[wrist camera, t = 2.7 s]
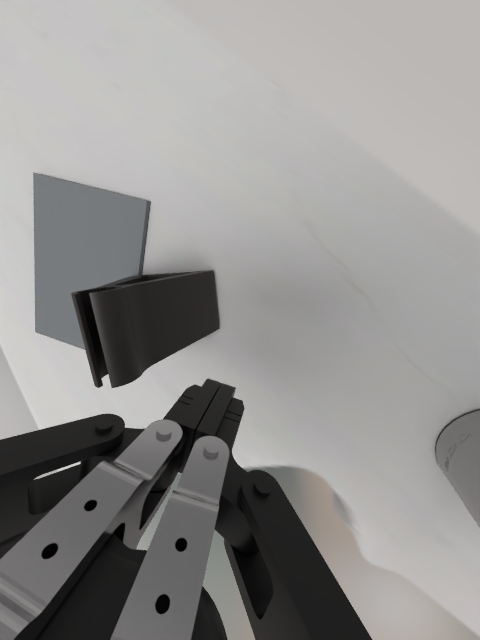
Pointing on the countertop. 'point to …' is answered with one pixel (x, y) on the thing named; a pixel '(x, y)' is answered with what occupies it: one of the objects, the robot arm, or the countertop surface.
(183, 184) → the countertop surface
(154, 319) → the phone stand
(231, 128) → the countertop surface
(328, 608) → the robot arm
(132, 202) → the mat
